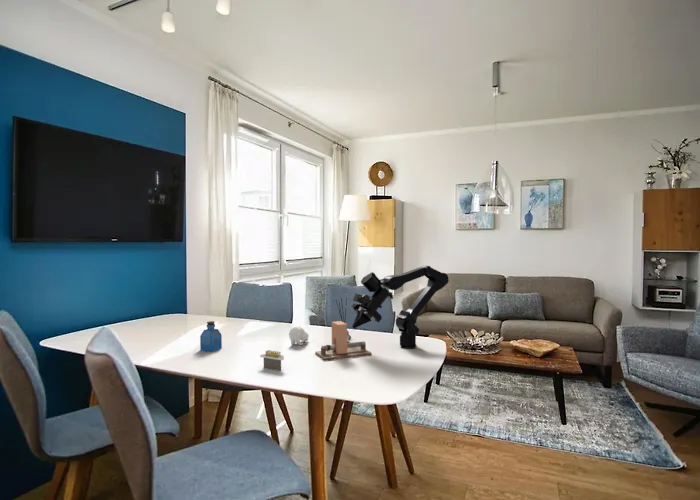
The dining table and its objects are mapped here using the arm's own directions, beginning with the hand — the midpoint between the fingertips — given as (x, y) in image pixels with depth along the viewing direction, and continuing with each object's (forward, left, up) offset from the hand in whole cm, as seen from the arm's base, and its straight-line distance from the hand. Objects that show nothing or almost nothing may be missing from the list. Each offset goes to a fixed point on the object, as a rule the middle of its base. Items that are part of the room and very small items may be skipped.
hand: (353, 327), depth 175 cm
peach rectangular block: (+5, +3, -9) cm, 11 cm away
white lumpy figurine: (+27, -13, -11) cm, 32 cm away
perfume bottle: (+62, +4, -11) cm, 63 cm away
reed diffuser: (+9, -21, -11) cm, 25 cm away
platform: (+25, +25, -11) cm, 37 cm away
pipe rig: (+4, +3, -11) cm, 12 cm away
